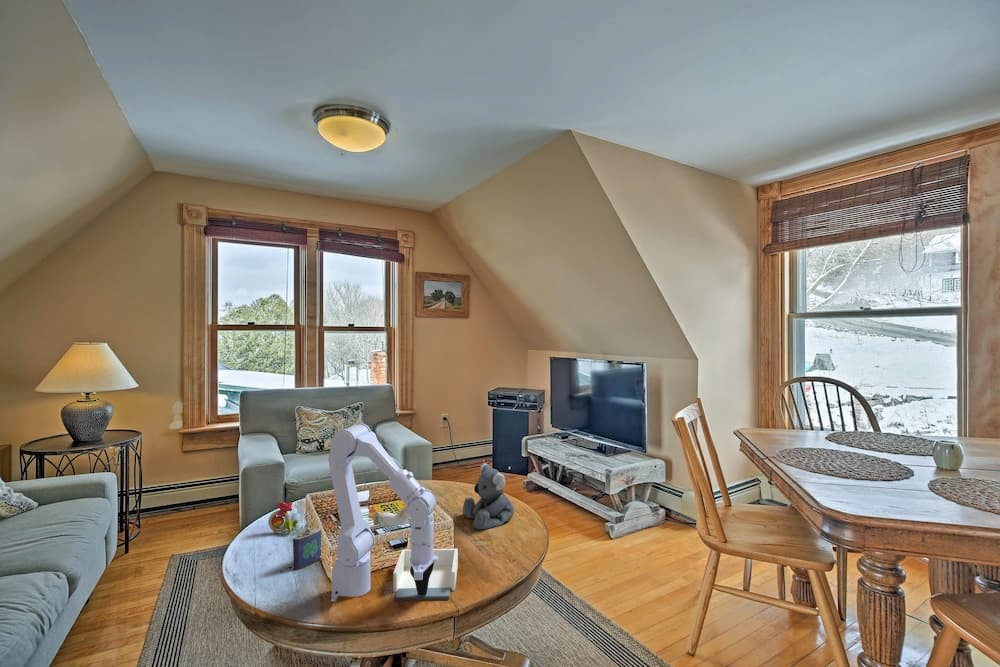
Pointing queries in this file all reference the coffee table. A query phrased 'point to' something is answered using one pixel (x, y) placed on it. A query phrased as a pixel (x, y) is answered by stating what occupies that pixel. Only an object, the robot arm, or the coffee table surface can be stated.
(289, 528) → the bird rattle
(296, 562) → the flask
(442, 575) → the white cubby shelf
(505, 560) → the coffee table surface
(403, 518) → the unicorn figurine
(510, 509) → the koala plush
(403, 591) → the door panel
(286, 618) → the coffee table surface
